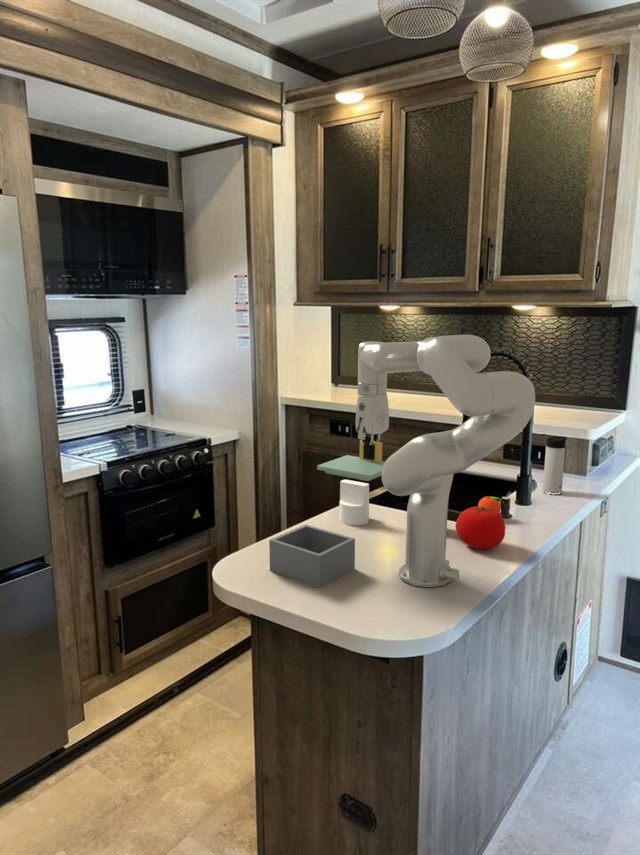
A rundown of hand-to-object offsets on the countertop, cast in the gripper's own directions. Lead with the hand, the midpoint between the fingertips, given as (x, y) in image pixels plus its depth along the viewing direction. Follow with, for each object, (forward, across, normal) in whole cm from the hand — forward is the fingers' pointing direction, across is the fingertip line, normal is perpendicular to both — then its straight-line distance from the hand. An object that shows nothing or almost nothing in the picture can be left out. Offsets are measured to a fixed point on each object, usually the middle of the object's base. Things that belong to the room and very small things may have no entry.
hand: (371, 457), depth 165 cm
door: (+3, -6, 0) cm, 7 cm away
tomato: (+25, +19, -24) cm, 40 cm away
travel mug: (+25, +81, -26) cm, 89 cm away
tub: (+25, -21, +4) cm, 33 cm away
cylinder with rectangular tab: (+25, +16, +15) cm, 33 cm away
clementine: (+25, +42, -18) cm, 52 cm away
